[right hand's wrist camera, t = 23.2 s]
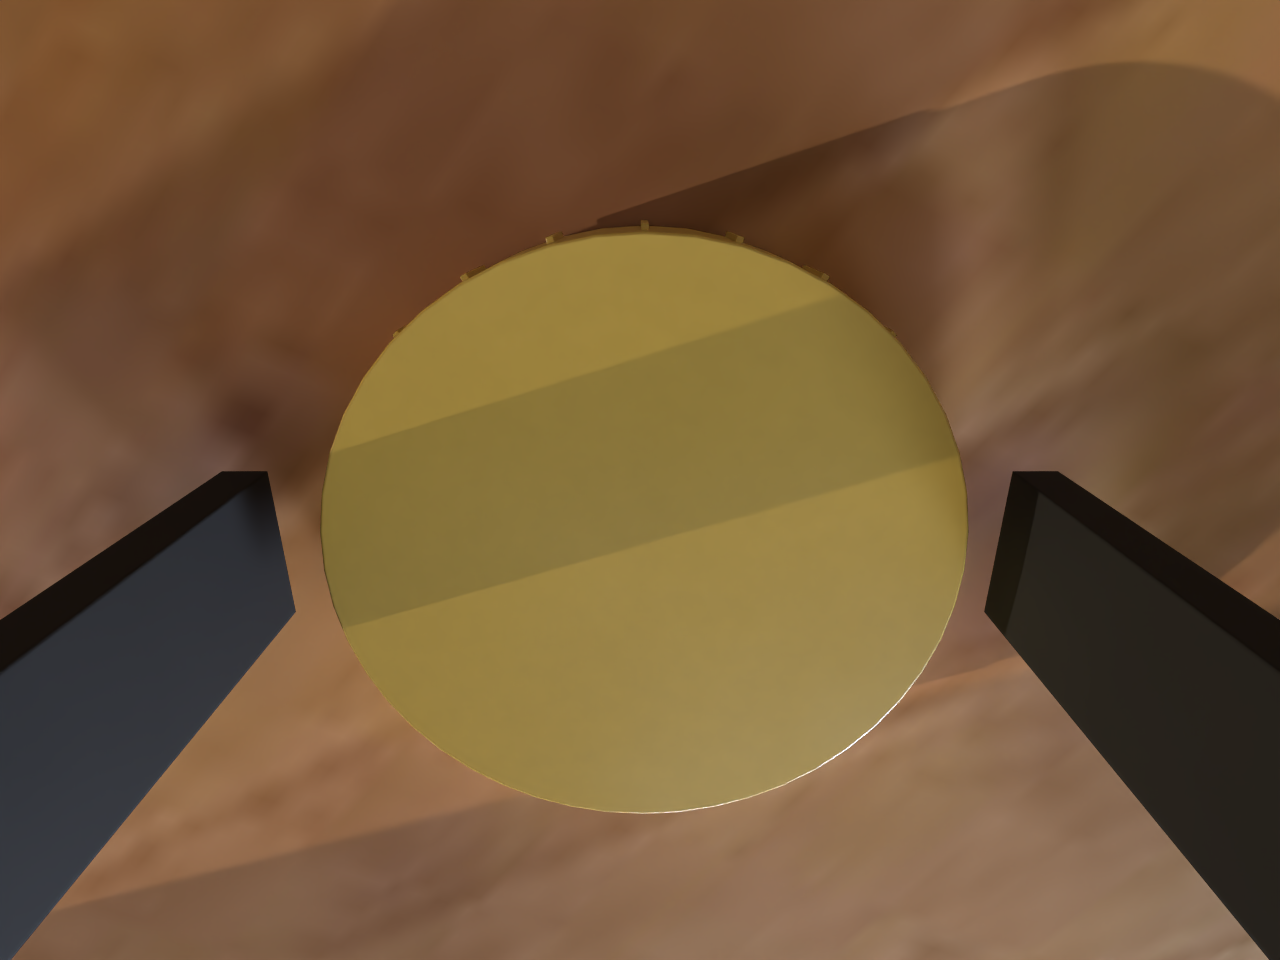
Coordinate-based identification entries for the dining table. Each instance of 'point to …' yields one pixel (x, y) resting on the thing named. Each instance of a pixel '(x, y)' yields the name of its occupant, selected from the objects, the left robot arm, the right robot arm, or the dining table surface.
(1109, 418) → the dining table surface
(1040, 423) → the dining table surface
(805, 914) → the dining table surface
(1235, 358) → the dining table surface
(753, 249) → the lid
